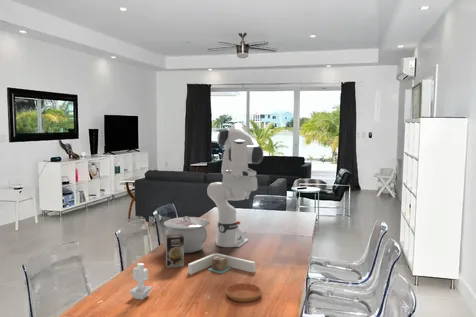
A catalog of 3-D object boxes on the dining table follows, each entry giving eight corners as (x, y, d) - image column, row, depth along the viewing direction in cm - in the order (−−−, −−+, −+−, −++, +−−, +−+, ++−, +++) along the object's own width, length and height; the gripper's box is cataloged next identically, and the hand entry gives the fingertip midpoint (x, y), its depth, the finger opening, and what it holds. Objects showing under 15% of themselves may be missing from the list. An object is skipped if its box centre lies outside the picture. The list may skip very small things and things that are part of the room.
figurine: (153, 293, 186) (153, 261, 184) (142, 302, 177) (141, 268, 175) (139, 291, 188) (139, 259, 187) (127, 300, 179) (126, 266, 178)
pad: (217, 265, 223) (217, 264, 223) (231, 268, 218) (231, 267, 218) (207, 269, 215) (207, 269, 215) (221, 273, 210) (221, 273, 210)
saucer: (240, 286, 195) (240, 280, 195) (268, 295, 185) (269, 288, 185) (218, 297, 182) (218, 290, 182) (246, 307, 172) (246, 300, 172)
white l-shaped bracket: (215, 261, 228) (215, 252, 228) (255, 271, 213) (255, 262, 213) (188, 273, 210) (188, 263, 210) (229, 285, 195) (229, 274, 195)
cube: (212, 269, 216) (211, 258, 215) (218, 266, 220) (218, 255, 220) (220, 271, 213) (220, 260, 212) (226, 268, 217) (226, 257, 217)
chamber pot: (202, 258, 233) (202, 222, 231) (156, 255, 238) (155, 220, 237) (215, 244, 260) (215, 211, 258) (173, 241, 266) (173, 209, 264)
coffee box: (167, 268, 218) (166, 238, 217) (165, 264, 224) (165, 234, 223) (184, 266, 221) (184, 236, 219) (182, 262, 227) (182, 233, 225)
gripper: (219, 170, 218) (219, 196, 219) (252, 173, 206) (252, 201, 207) (226, 169, 223) (226, 195, 224) (259, 172, 211) (258, 199, 213)
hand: (239, 197), depth 216 cm, fingers open, 8 cm apart
